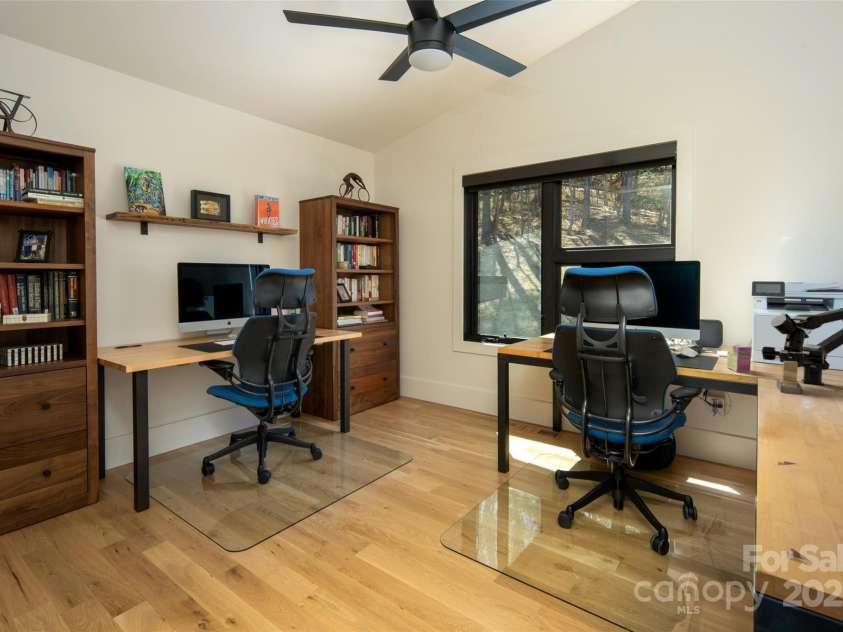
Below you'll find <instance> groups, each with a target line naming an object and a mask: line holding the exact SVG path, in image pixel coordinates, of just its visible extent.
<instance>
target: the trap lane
mask: <svg viewBox="0 0 843 632" xmlns="http://www.w3.org/2000/svg"><path fill="white" fill-rule="evenodd" d="M782 382H783V381H781V380H780V379H779V378H776V387H777V388H778V390H779V392H780V393H783V394H784V393H785V394H795V395H802V389H803V387H802V385H801V384H800V383H799V382H798V387H791V386H784V385H783V384H782Z"/></svg>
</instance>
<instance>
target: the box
mask: <svg viewBox="0 0 843 632" xmlns="http://www.w3.org/2000/svg"><path fill="white" fill-rule="evenodd" d="M726 359H727V360H726V368H727V367H728V368H730V369H729V370H731V369H732V370H731V371H733V370H734V372H735V371H737V372H736V373H742V372H750V373H751V365H752V363H751V361H752V346H751V347H750V346H748V345H745V344H740V343H727V355H726ZM728 368H727V369H728Z"/></svg>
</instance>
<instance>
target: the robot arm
mask: <svg viewBox="0 0 843 632" xmlns="http://www.w3.org/2000/svg"><path fill="white" fill-rule="evenodd" d="M841 320H842V322H843V307H841V308H839V309H833V310H829V311H825V312H821V313H820V312H819V313H814V314H811V313H809V314H806V313H805V314H803V313H802V314H797V315H795V316H794V317H793V318H792V317H790V315H789V314H788V313H785V312H783V313H780V315H777V316H775V317H774V318H772V319H771V321H770V325H771V326H772V327H773V328H774V329H775V330H777V331H778V332H779V334H781V335H786V337H785V341H784V346H783V349H780V350H776V347H774V346H763V347H762V349H761V354H762V359H763V360H767V361H774V360H776V358H777V357H779V362H780V363H783V361H794V362H798V366H797V368H801V367H802V368H803V377H802V379H800V381H801V382H802V383H803V384H808V385H809V384H810V385H821V386H822V385H823V386H825V383H824V382H823V371H826V370H829V368H830V363H829V362H828V361H827V360H826V359H827V356H828V354H830V353H832V352H833V351H834V350H836V349H838V348H839V347H841V346H842V345H843V328H841V329H840V330H838V331H836V332H835V333H833V334H832V335H830V336H828V337H827V338H825V339H823V340H822V341H821V342H819V343H817V344H810V343H806V344H804V343H805V339H808V338H810V336H809V334H808V333H806V330H809V331H813V330H816V329H819V328H821V327H822V326H823V325H825V324H829V323H834V322H837V321H841Z"/></svg>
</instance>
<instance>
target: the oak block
mask: <svg viewBox="0 0 843 632" xmlns="http://www.w3.org/2000/svg"><path fill="white" fill-rule="evenodd" d="M797 366H798V362H794V361H783V362H782V381H781V382H782V384H783V385H784V386H791V387H798V383H799V381H798V367H797Z"/></svg>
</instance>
